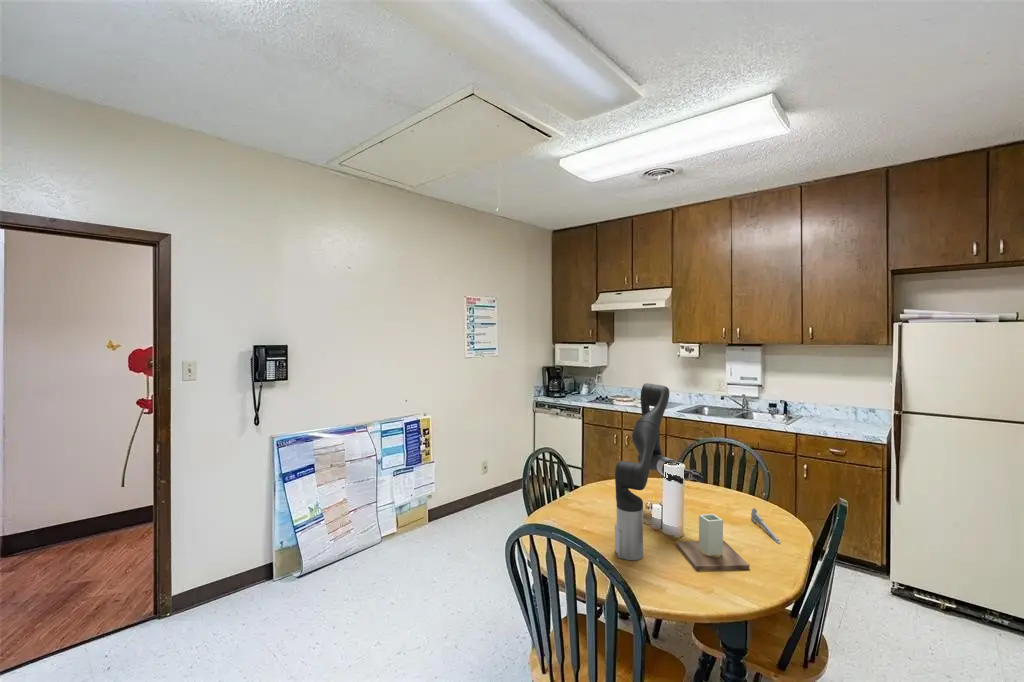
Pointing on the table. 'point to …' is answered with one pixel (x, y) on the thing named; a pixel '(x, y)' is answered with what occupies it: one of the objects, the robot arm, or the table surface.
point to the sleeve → (711, 534)
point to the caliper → (763, 524)
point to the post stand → (711, 557)
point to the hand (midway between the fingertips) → (692, 480)
